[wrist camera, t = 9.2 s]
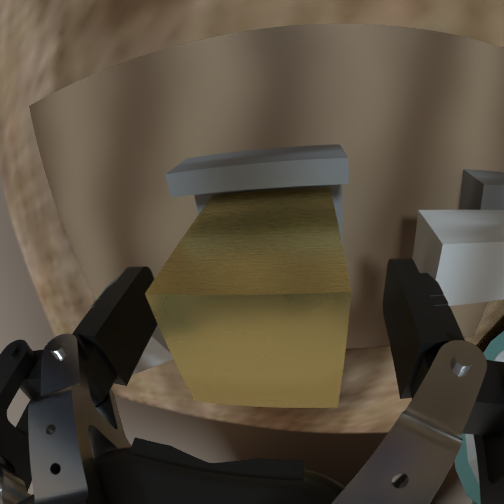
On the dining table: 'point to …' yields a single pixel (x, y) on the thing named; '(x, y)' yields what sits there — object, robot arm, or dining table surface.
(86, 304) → the dining table surface
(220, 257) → the block
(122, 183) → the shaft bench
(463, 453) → the alarm clock
